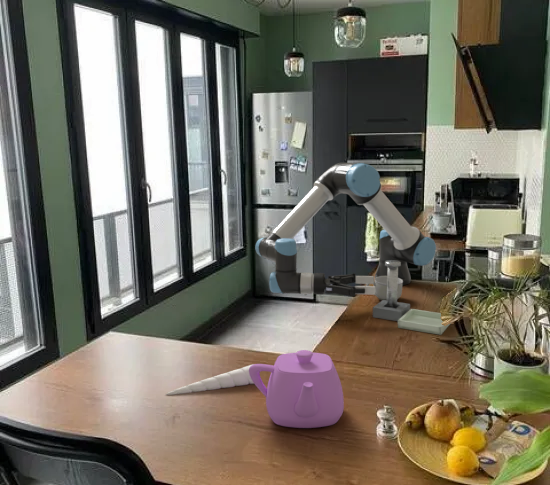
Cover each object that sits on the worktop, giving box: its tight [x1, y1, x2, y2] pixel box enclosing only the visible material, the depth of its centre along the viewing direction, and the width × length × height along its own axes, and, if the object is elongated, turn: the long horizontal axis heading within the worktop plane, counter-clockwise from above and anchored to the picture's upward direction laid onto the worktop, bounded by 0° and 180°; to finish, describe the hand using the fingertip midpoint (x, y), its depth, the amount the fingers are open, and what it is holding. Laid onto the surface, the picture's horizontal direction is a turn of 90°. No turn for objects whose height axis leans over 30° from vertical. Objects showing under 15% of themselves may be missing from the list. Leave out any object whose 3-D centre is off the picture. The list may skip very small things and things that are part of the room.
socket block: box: [372, 300, 411, 322], centre depth 190 cm, size 10×10×4 cm
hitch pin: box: [385, 260, 401, 308], centre depth 188 cm, size 5×5×19 cm
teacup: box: [365, 276, 403, 301], centre depth 208 cm, size 14×11×8 cm
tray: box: [397, 308, 452, 336], centre depth 180 cm, size 14×14×2 cm
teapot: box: [249, 349, 345, 429], centre depth 118 cm, size 23×21×15 cm
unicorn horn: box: [165, 364, 255, 396], centre depth 137 cm, size 5×24×5 cm, turn 105°
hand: (374, 285), depth 189 cm, fingers open, 13 cm apart
